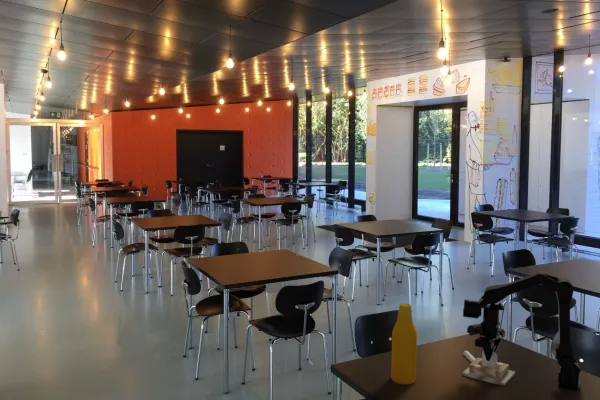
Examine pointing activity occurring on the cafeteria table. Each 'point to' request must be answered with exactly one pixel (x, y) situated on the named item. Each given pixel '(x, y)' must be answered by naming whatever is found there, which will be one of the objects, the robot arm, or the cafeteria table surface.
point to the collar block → (489, 372)
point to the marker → (469, 356)
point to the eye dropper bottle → (492, 362)
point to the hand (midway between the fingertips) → (489, 359)
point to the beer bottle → (404, 347)
